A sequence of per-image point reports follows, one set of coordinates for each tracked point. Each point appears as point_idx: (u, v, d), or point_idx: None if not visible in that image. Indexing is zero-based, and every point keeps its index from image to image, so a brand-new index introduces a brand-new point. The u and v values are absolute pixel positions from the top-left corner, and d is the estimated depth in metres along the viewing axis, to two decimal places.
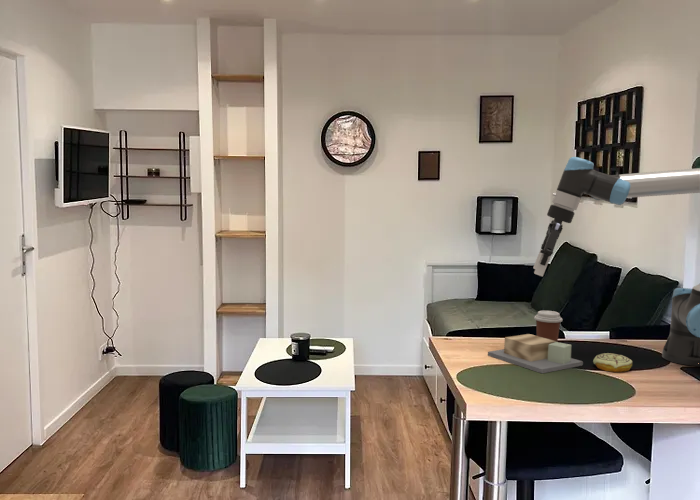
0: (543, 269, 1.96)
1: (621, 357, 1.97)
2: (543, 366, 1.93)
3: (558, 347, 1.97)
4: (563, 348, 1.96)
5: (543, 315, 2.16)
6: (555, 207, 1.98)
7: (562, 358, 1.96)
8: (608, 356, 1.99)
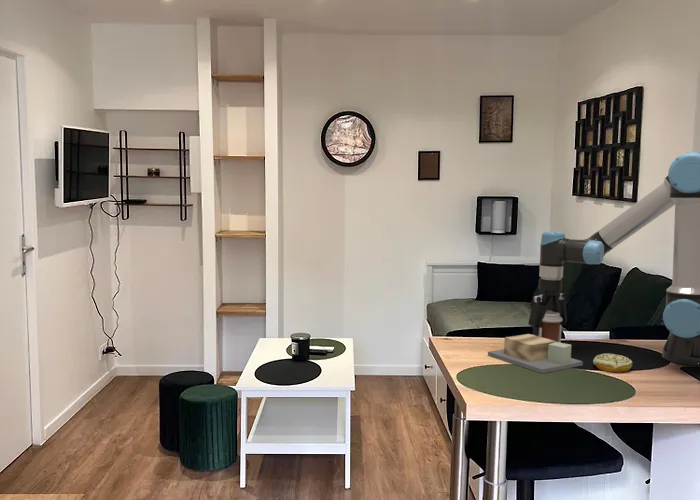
0: None
1: (621, 357, 1.97)
2: (543, 366, 1.93)
3: (558, 347, 1.97)
4: (563, 348, 1.96)
5: None
6: (539, 280, 2.18)
7: (562, 358, 1.96)
8: (608, 356, 1.98)
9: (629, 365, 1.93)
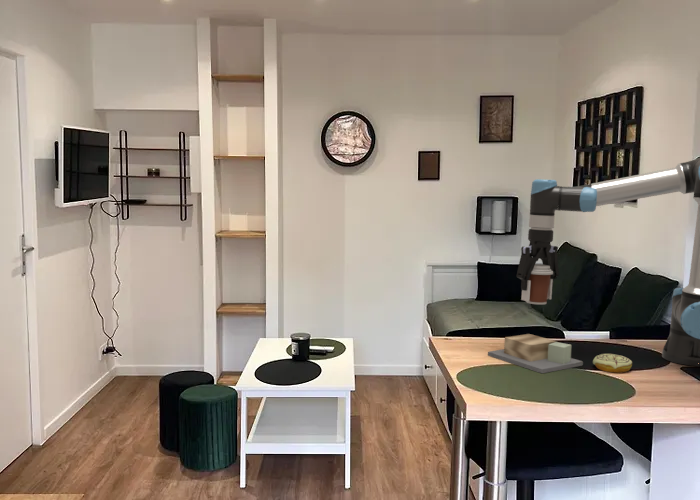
0: (526, 294, 2.05)
1: (621, 357, 1.97)
2: (543, 366, 1.93)
3: (558, 347, 1.97)
4: (563, 348, 1.96)
5: None
6: None
7: (562, 358, 1.96)
8: (608, 356, 1.98)
9: (629, 365, 1.93)
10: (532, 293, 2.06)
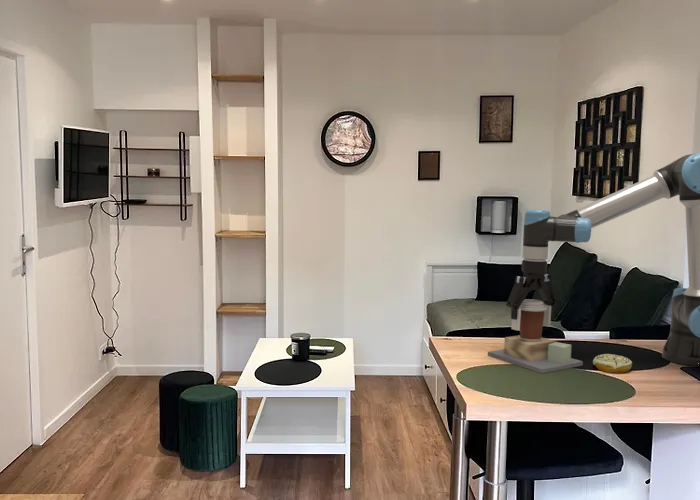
0: (516, 323, 2.00)
1: (621, 358, 1.96)
2: (543, 366, 1.93)
3: (558, 347, 1.97)
4: (563, 348, 1.96)
5: (526, 304, 2.01)
6: (522, 261, 2.03)
7: (562, 358, 1.96)
8: (608, 357, 1.98)
9: (629, 366, 1.93)
10: (526, 330, 2.02)
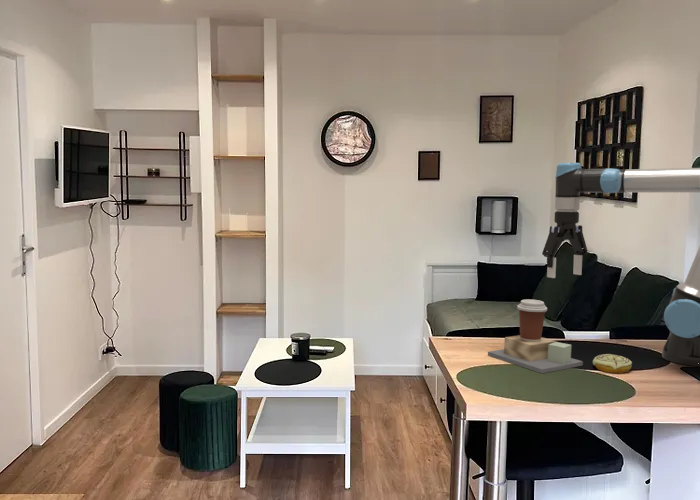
0: (552, 271, 2.10)
1: (621, 358, 1.96)
2: (543, 366, 1.93)
3: (558, 347, 1.97)
4: (563, 348, 1.96)
5: (526, 304, 2.01)
6: (555, 213, 2.13)
7: (562, 358, 1.96)
8: (608, 357, 1.98)
9: (629, 366, 1.92)
10: (526, 330, 2.02)
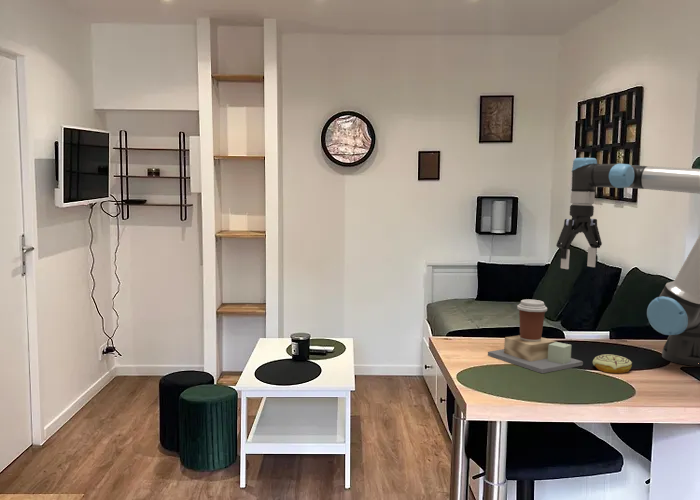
0: (566, 262, 2.17)
1: (621, 358, 1.96)
2: (543, 366, 1.93)
3: (558, 347, 1.97)
4: (563, 348, 1.96)
5: (526, 304, 2.01)
6: (570, 206, 2.20)
7: (562, 358, 1.96)
8: (607, 357, 1.98)
9: (629, 366, 1.92)
10: (526, 330, 2.02)
